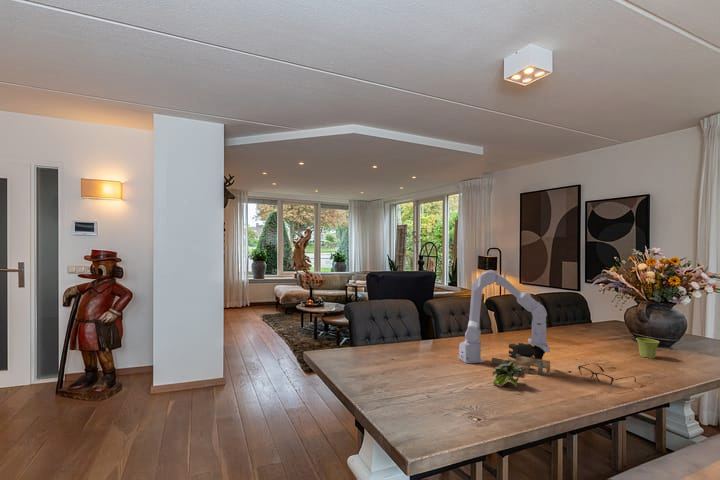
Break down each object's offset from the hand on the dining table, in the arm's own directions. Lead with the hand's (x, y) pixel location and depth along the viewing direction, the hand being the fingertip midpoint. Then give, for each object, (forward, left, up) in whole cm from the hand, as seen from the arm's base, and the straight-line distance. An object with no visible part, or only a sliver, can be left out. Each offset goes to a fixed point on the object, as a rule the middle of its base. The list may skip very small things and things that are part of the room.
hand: (538, 363), depth 152 cm
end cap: (+6, +18, -4) cm, 19 cm away
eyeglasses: (+24, -12, -4) cm, 27 cm away
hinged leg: (-3, 0, -3) cm, 4 cm away
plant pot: (+75, +9, -3) cm, 75 cm away
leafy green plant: (-24, -12, -4) cm, 28 cm away
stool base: (-7, +4, -3) cm, 9 cm away
